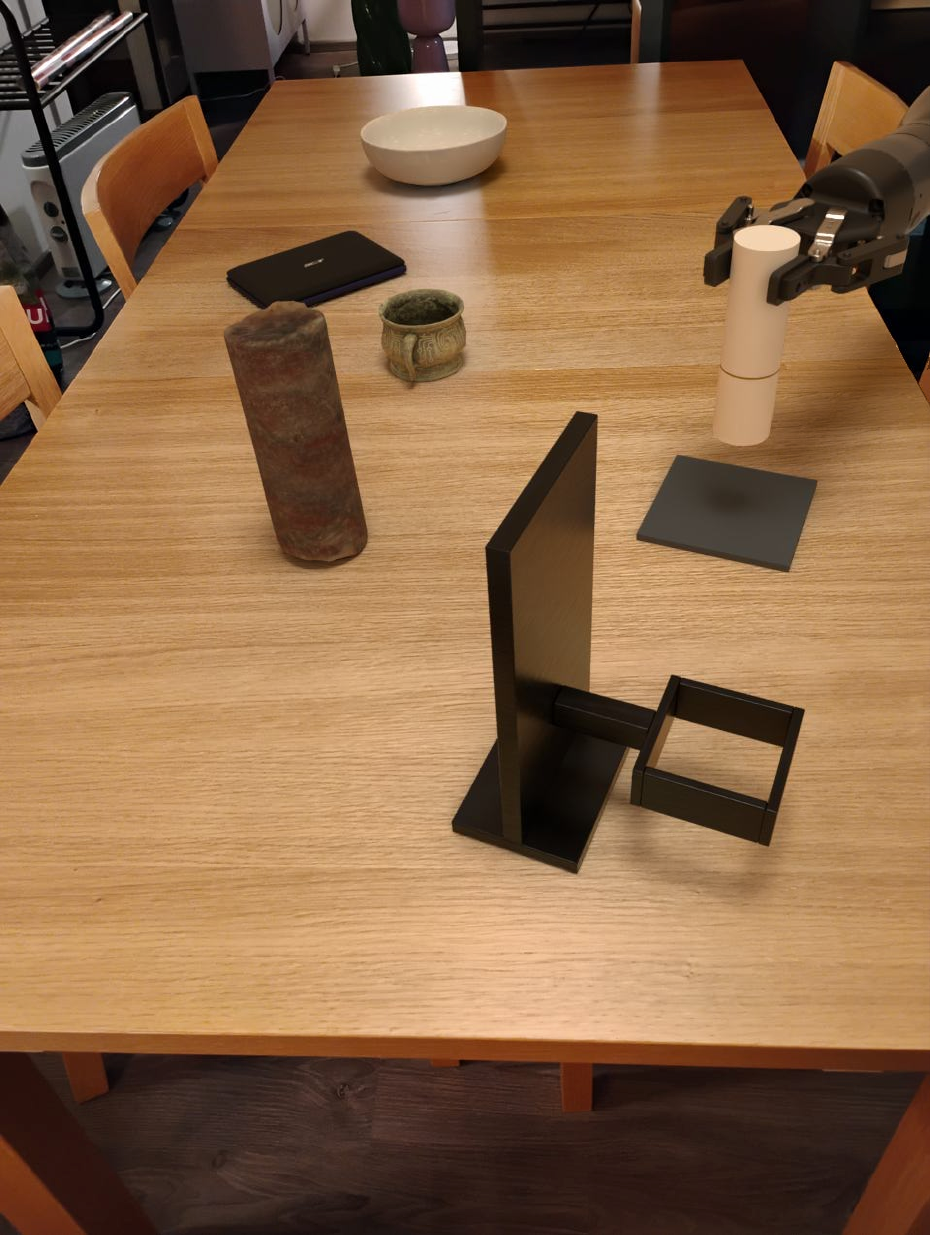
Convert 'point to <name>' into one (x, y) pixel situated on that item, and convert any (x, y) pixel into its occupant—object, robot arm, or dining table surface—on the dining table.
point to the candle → (298, 430)
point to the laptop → (316, 270)
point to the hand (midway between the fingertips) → (741, 281)
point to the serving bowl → (434, 143)
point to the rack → (587, 691)
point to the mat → (729, 512)
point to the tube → (752, 336)
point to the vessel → (423, 333)
